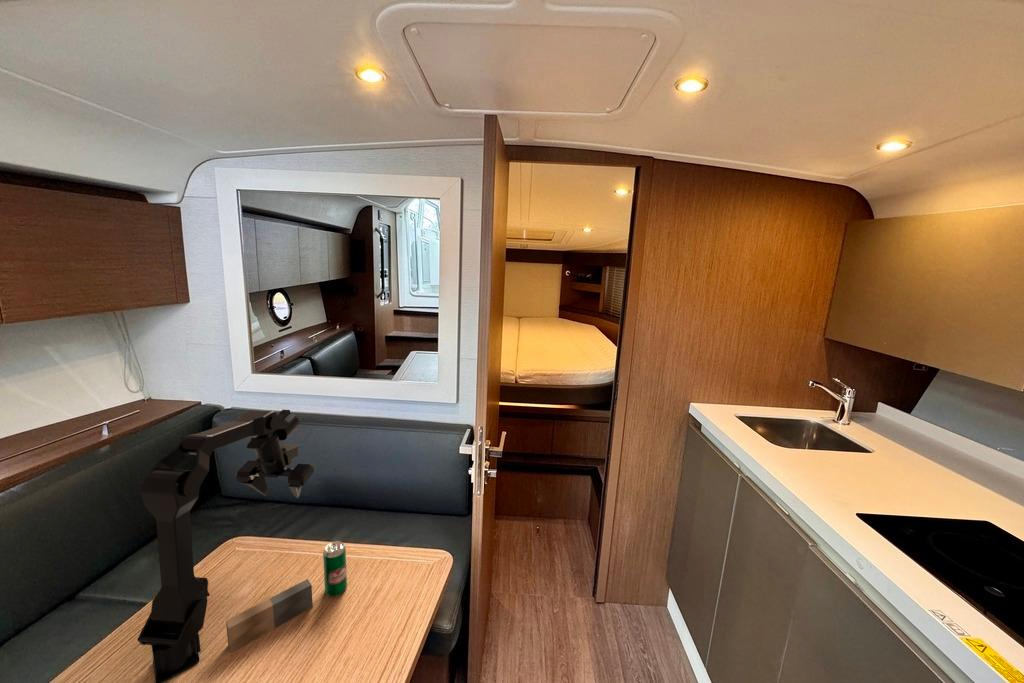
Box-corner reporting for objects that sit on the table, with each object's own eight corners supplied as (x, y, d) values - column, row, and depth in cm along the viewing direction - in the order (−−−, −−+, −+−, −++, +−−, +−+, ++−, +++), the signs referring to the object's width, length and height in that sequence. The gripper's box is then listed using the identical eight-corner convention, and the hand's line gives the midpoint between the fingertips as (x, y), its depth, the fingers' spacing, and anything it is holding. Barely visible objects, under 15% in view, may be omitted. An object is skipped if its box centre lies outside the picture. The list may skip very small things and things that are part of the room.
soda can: (328, 601, 93) (326, 557, 91) (322, 588, 96) (320, 545, 94) (349, 590, 96) (348, 548, 94) (343, 578, 100) (341, 537, 98)
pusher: (231, 653, 79) (228, 628, 78) (228, 645, 81) (225, 620, 80) (312, 606, 91) (311, 584, 90) (308, 600, 93) (307, 578, 92)
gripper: (319, 434, 109) (328, 477, 115) (255, 431, 110) (268, 473, 116) (296, 462, 99) (308, 506, 105) (227, 457, 100) (242, 502, 106)
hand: (282, 495), depth 108 cm, fingers open, 9 cm apart
